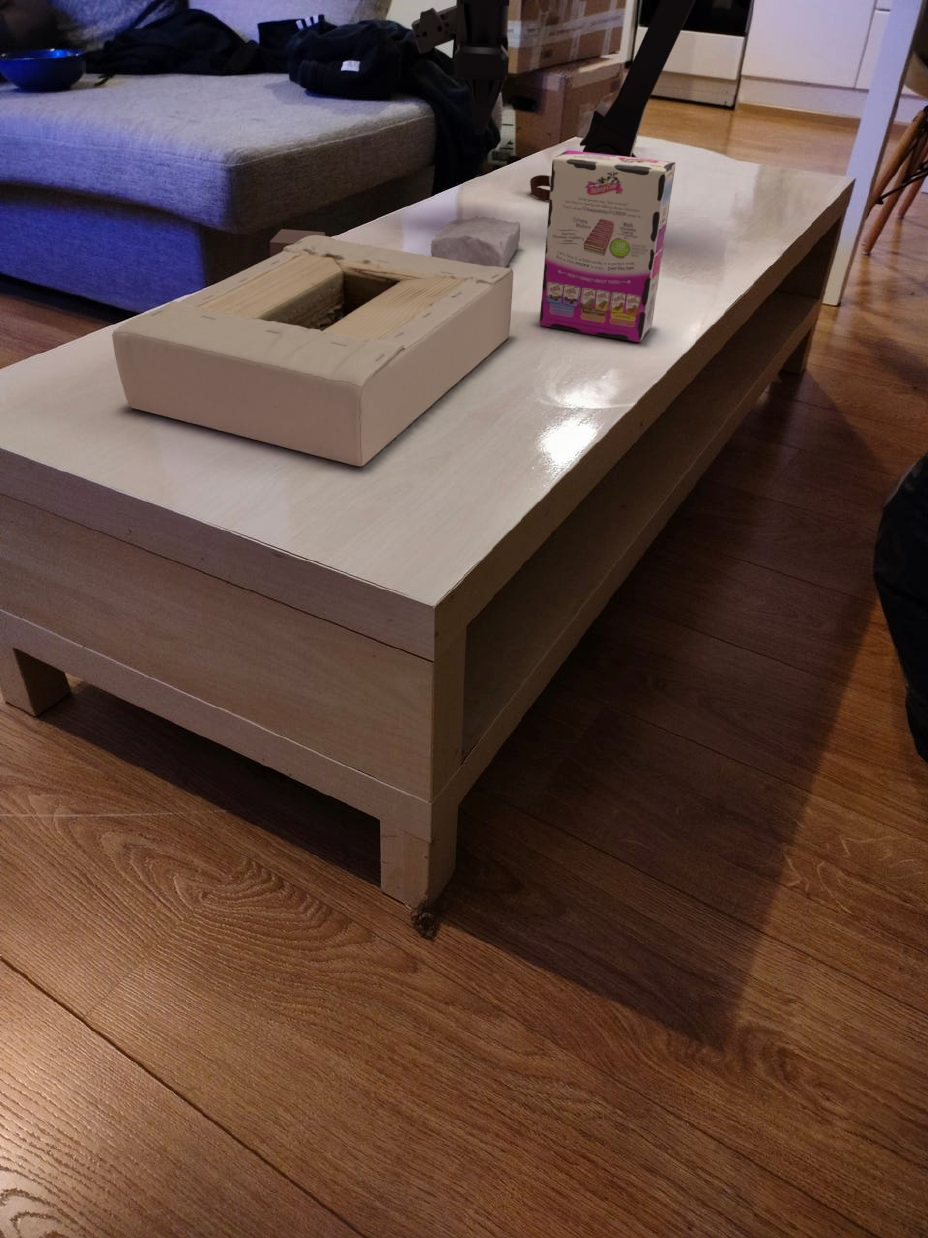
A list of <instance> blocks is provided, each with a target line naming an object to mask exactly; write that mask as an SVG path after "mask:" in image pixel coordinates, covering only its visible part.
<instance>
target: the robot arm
mask: <svg viewBox="0 0 928 1238" xmlns="http://www.w3.org/2000/svg"><path fill="white" fill-rule="evenodd" d="M510 1H511V0H456V4H455V5H452V6H450V7H447V8H444V9H442V10H439V11H437V10H436V9H435V8H434V7H431V8H429V9H427V10H422V11H421V12H420V13H419V18H418V19H416V20H414V21H412V23H411V25H410V26H411V29H412V33H413V38H414V40H415V42H416V46H417V49H418V52H419V53H418V54H420V55H422V54H426V53H428V52H430V51H431V50H432V49H434V48H436V47H439V46H441V45H444V44H447V43H450V42H452V41H454V40H455V45H456V46H458V48H457V49H456V50H455V52H454V55H453V58H454V59H453V75H455V76H456V77H457V78H458V79H459V80H460V81H461V82H462V83H463V84H464V85H465V86H466V88H467V91H468V95H469V96H468V97H469V105H470V110H471V111H470V112H471V118H472V126H473V131H474V134H475V135H476V136H477V135H479V136H480V135H481V136H482V135H484V133H485V132H486V129H487V126H488V124H489V121H490V119H491V117H492V114H493V111H494V108H495V106H496V104H497V102H498V99H499V96H500V95H501V91H502V89H503V87H504V85H505V82H506V80H507V78H508V77H509V68H510V67H509V66H510V65H509V64H510V53H509V37H508V32H509V31H508V30H509V29H508V28H509V16H510V15H509V13H510ZM695 1H696V0H659V2H658V4H657V7H656V8H655V12H654V13H653V16H652V18H651V20H650V23H649V25H648V27H647V29H646V32H645V34H644V36H643V38H642V40H641V43H640V45H639V47H638V49H637V52H636V54H635V56H634V58H633V61H632V63H631V65H630V67H629V70H628V72H627V74H626V76H625V78H624V81H623V83H622V85H621V87H620V90H619V92H618V94H617V96H616V98H615V99H614V101H613V102H612V104H611V105H610V107H607V105H606V104H604V103H603V102H600V103H598V105H597V107H596V108H595V110H594V112H593V115H592V118H591V121H590V125H589V129H588V131H587V132H586V133H585V135H583V138H582V140H581V141H580V142H579V146H580V147H583V149H582V152H590V153H598V154H608V155H617V156H626V157H636V158H638V157H637V156H636V155H635V154H634V150H635V146H636V143H637V140H638V137H639V133H640V129H641V126H642V121H643V118H644V115H645V111H646V107H647V104H648V103H649V100H650V98H651V96H652V94H653V91H654V89H655V87H656V85H657V83H658V81H659V78H660V77H661V74H662V72H663V71H664V68H665V66H666V63H667V62H668V59H669V57H670V55H671V53H672V51H673V48H674V47H675V44H676V42H677V39H678V38H679V36H680V33H681V32H682V29H683V27H684V25H685V23H686V21H687V19H688V16H689V14H690V13H691V10H692V8H693V6H694V4H695Z"/></svg>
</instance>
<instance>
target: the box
mask: <svg viewBox="0 0 928 1238" xmlns="http://www.w3.org/2000/svg"><path fill="white" fill-rule="evenodd" d="M513 288H514V270H513V269H512V268H508V267H506V268H503V267H497V266H482V265H477V264H471V263H465V262H459V261H454V260H448V259H442V258H437V257H433V256H432V255H431V256H430V255H424V254H420V253H413V252H409V251H402V250H397V249H392V248H391V249H390V248H388V247H381V246H376V245H369V244H363V243H362V244H361V243H358V242H357V243H356V242H351V241H346V240H342V239H341V240H340V239H336V238H333V237H331V236H328V235H327V236H326V235H325V236H320V235H312V236H307V237H305V238H302V239H301V240H299V241H298V242H296V243H295V244H293V245H289V246H286V247H284V249H283V251H282V252H281V253H279V254H277V255H275V256H273V257H269V258H266V259H265V260H262V261H260V262H258V263H257V264H254V265H252V266H250V267H248V268H246V269H244V270H242V271H239V272H238V273H236V274H233V275H231V276H229V277H227V278H225V279H223V280H221V281H219V282H217V283H215V284H213V285H211V286H208V287H207V288H204V289H203V290H201V291H199V292H196V293H194V294H192V295H190V296H188V297H186V298H184V299H181V300H179V301H177V300H175V301H171V302H169V303H167V304H165V305H164V306H161V307H160V308H158V309H155V310H153V311H149V312H147V313H144V314H140V315H138V316H136V317H134V318H132V319H129V320H127V321H126V322H124V323H122V324H121V325H120V326H118V327H117V328H115V329H114V330H113V332H112V334H111V337H112V344H113V352H114V357H115V363H116V366H117V370H118V375H119V378H120V382H121V386H122V389H123V392H124V396H125V399H126V401H127V404H128V405H129V406H130V408H132V409H136V410H139V411H142V412H147V413H151V414H155V415H159V416H162V417H166V418H167V417H168V418H171V419H174V420H179V421H182V422H186V423H189V424H194V425H198V426H201V427H206V428H209V429H213V430H218V431H221V432H224V433H229V434H232V435H236V436H241V437H243V438H247V439H252V440H256V441H259V442H264V443H268V444H271V445H275V446H278V447H282V448H286V449H290V450H293V451H297V452H301V453H305V454H308V455H312V456H316V457H319V458H324V459H328V460H331V461H335V462H339V463H342V464H343V463H344V464H347V465H350V466H351V465H352V466H355V467H363V466H365V465H366V464H367V463H368V462H369V461H370V460H372V459H373V458H374V457H375V456H376V455H377V454H378V453H380V452H381V450H383V449H384V448H385V447H386V446H388V445H389V443H390V442H392V441H393V440H394V439H396V437H397V436H398V435H399V434H401V433H402V432H404V430H405V429H406V428H408V426H410V425H411V424H412V423H413V422H414V421H415V420H416V419H418V417H420V416H422V414H423V413H425V412H426V411H427V410H428V409H429V408H430V407H431V406H433V405H434V404H435V403H436V402H437V401H439V399H440V398H442V396H443V395H444V394H446V393H447V392H448V391H449V390H450V389H452V388H453V387H454V386H455V385H456V384H457V383H459V382H460V381H461V380H462V379H463V378H464V377H466V376H467V375H468V374H469V373H470V372H471V371H472V370H474V369H475V368H476V367H477V366H478V365H479V364H480V363H481V362H482V361H483V360H484V359H485V358H486V357H488V356H489V355H490V354H491V353H492V352H494V351H495V350H496V349H497V348H498V347H499V346H500V345H502V344H503V343H504V342H506V340H507V339H508V338H509V336H510V328H511V316H512V315H511V314H512V305H513V304H512V303H513V291H514V289H513Z"/></svg>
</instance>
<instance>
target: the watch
mask: <svg viewBox="0 0 928 1238" xmlns="http://www.w3.org/2000/svg"><path fill="white" fill-rule="evenodd" d="M529 186H530V194H531V195H532V196H533V197H535V198H537V199H539V200H542V201H548V202H549V199H550V189H546V188H543V187H548V188H550V186H551V175H547V174H538V175H535V176H532V177H531V178H530V180H529Z"/></svg>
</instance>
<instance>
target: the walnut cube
mask: <svg viewBox="0 0 928 1238" xmlns="http://www.w3.org/2000/svg"><path fill="white" fill-rule="evenodd" d="M312 235H320V236H326V233H325V231H313V230H312V231H311V230H300V229H299V230H298V229H297V230H296V229H285V228H284V229H283V228H281V229H280V230H279V231H278V232H277V233H276V235H274V237H273V238H271V240H270V241H269V242H268V245H269V256H270V257H269V258H271V257H273V256H275V255H277V254H279V253H281V252H282V251H283V249H284V247H286V246H289V245H293V244H295V243H296V242H298V241H299V240H301V239H302V238H305V237H307V236H312Z"/></svg>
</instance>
